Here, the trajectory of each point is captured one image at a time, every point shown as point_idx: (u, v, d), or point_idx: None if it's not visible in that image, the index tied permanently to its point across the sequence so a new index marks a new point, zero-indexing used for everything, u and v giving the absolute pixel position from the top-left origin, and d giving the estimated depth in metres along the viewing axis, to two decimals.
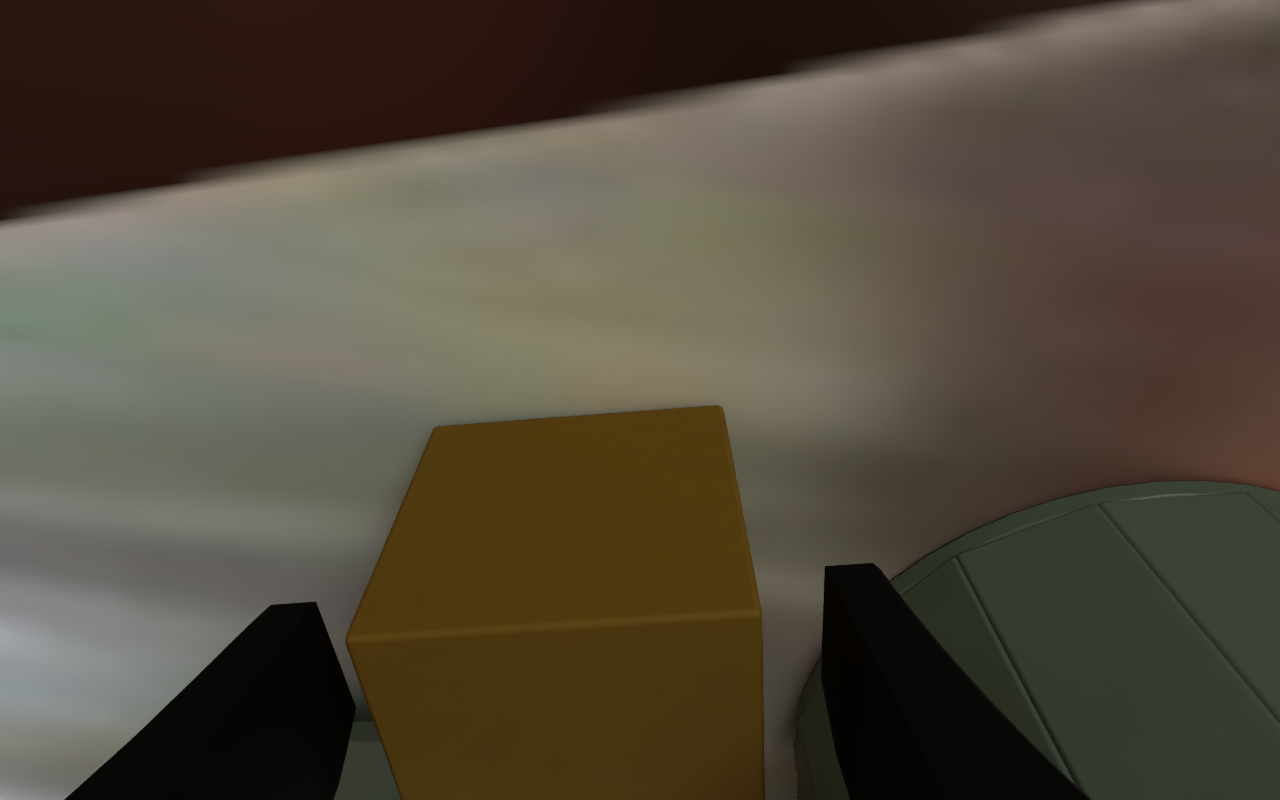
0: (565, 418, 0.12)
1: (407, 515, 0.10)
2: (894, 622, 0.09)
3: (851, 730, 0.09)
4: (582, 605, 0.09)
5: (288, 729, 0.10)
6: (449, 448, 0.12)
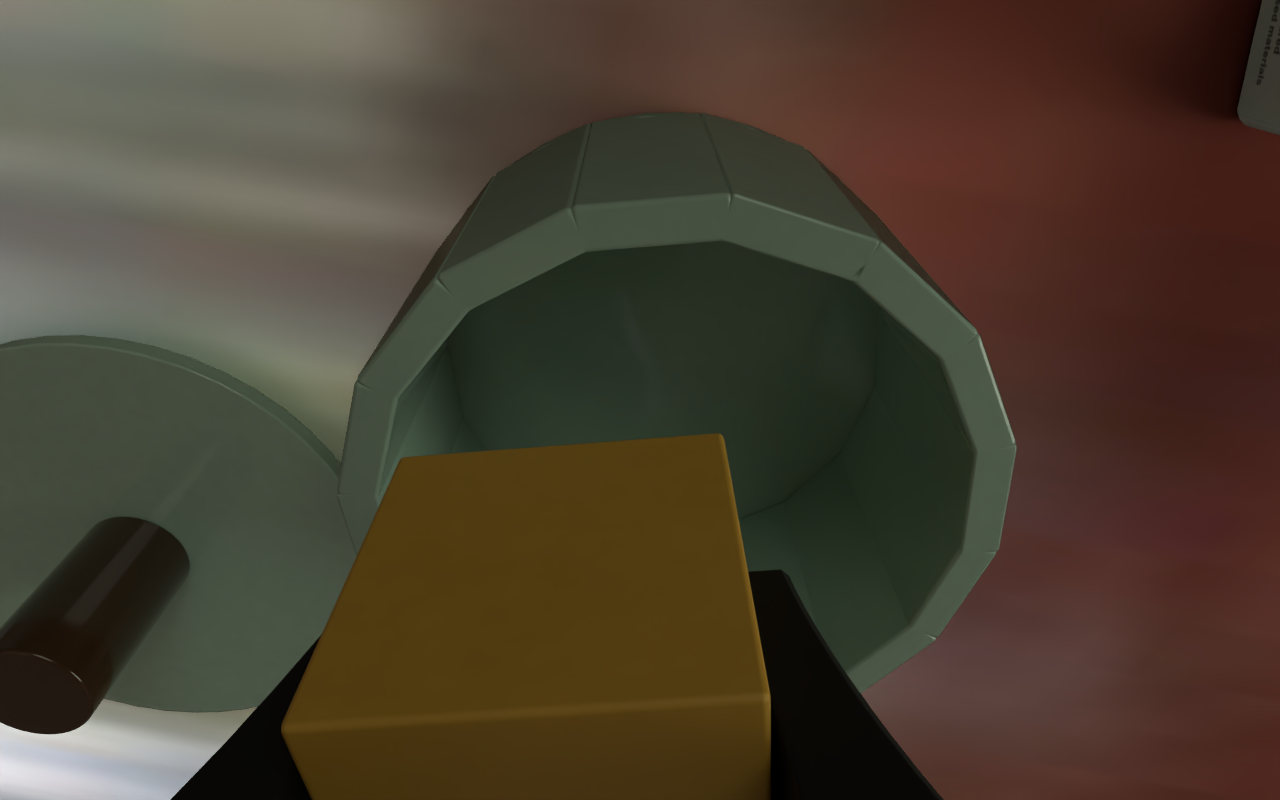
0: (547, 447, 0.11)
1: (363, 567, 0.09)
2: (789, 629, 0.09)
3: None
4: (560, 685, 0.07)
5: None
6: (415, 484, 0.10)
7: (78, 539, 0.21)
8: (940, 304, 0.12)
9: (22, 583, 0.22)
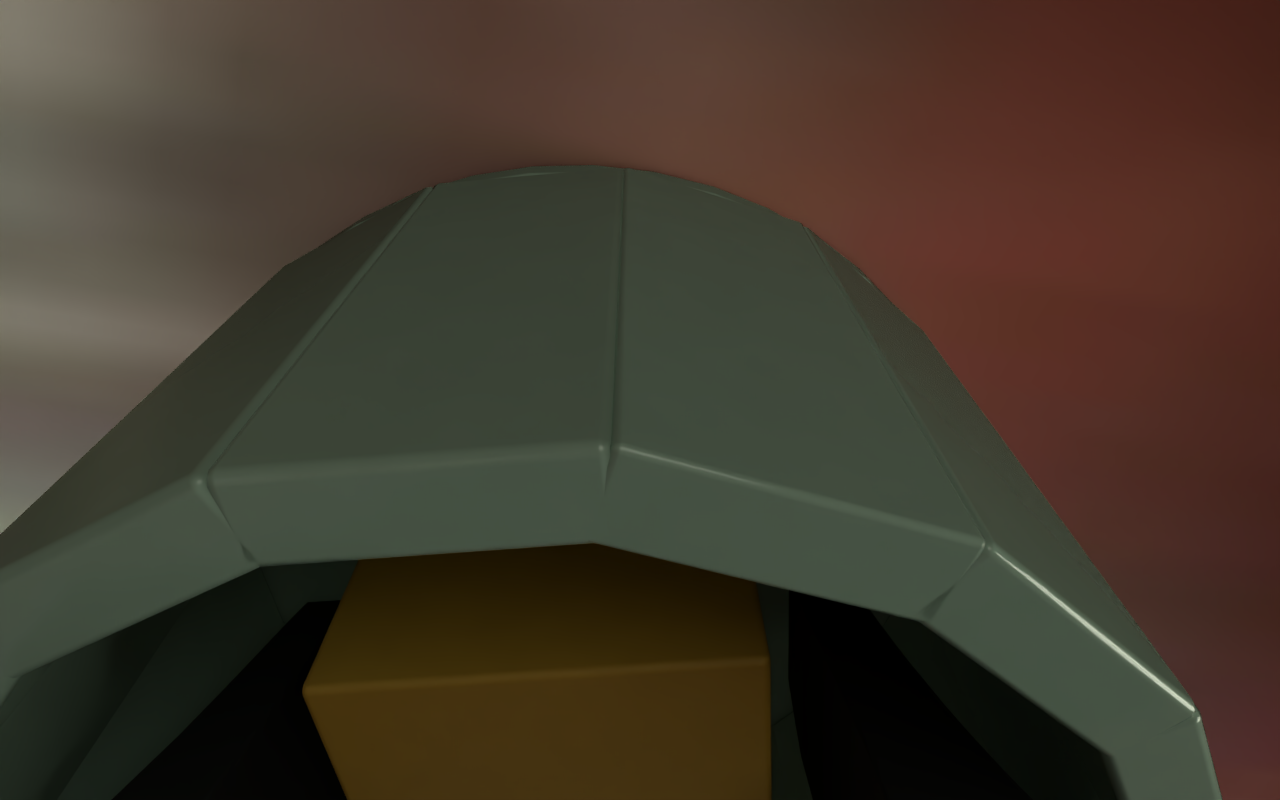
0: None
1: None
2: (853, 625, 0.09)
3: (813, 733, 0.10)
4: (569, 650, 0.08)
5: None
6: None
7: None
8: (1119, 661, 0.05)
9: None
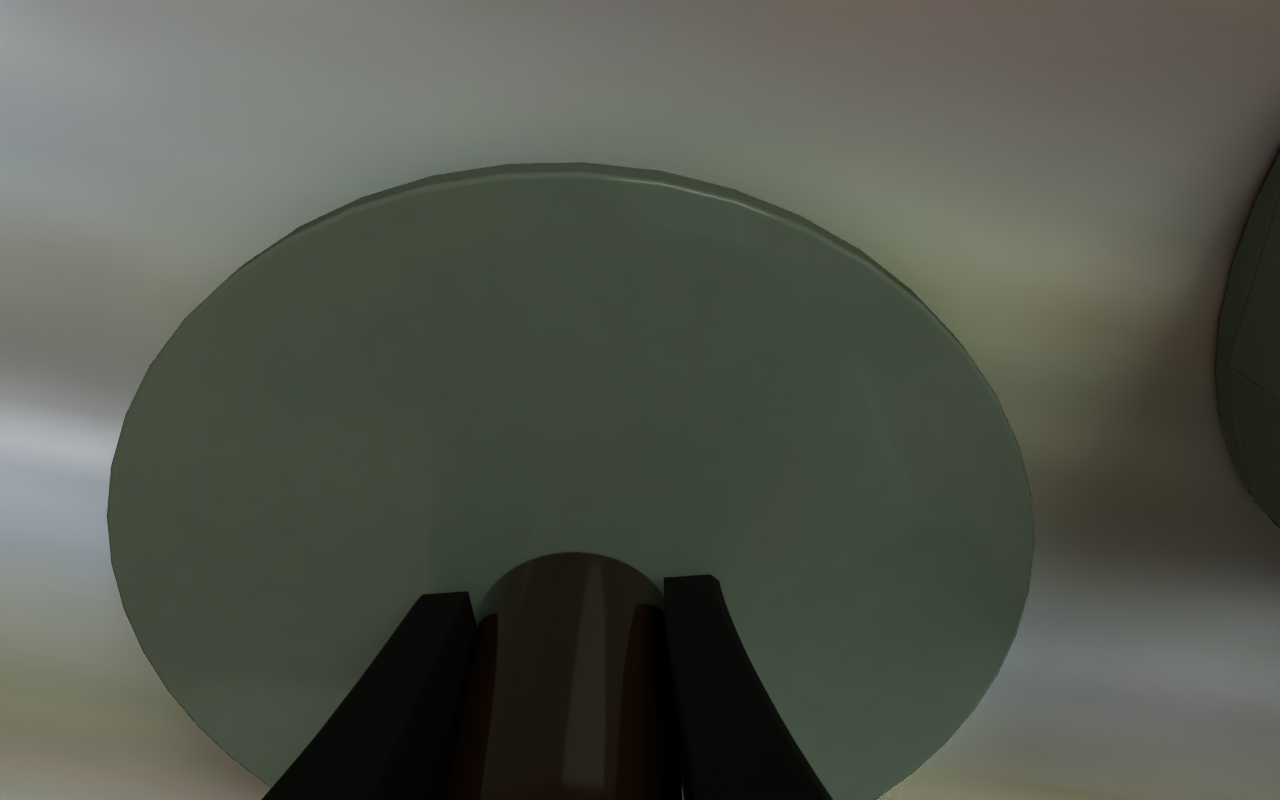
0: None
1: None
2: (708, 635, 0.09)
3: None
4: None
5: (454, 718, 0.09)
6: None
7: (469, 595, 0.11)
8: None
9: (341, 674, 0.12)
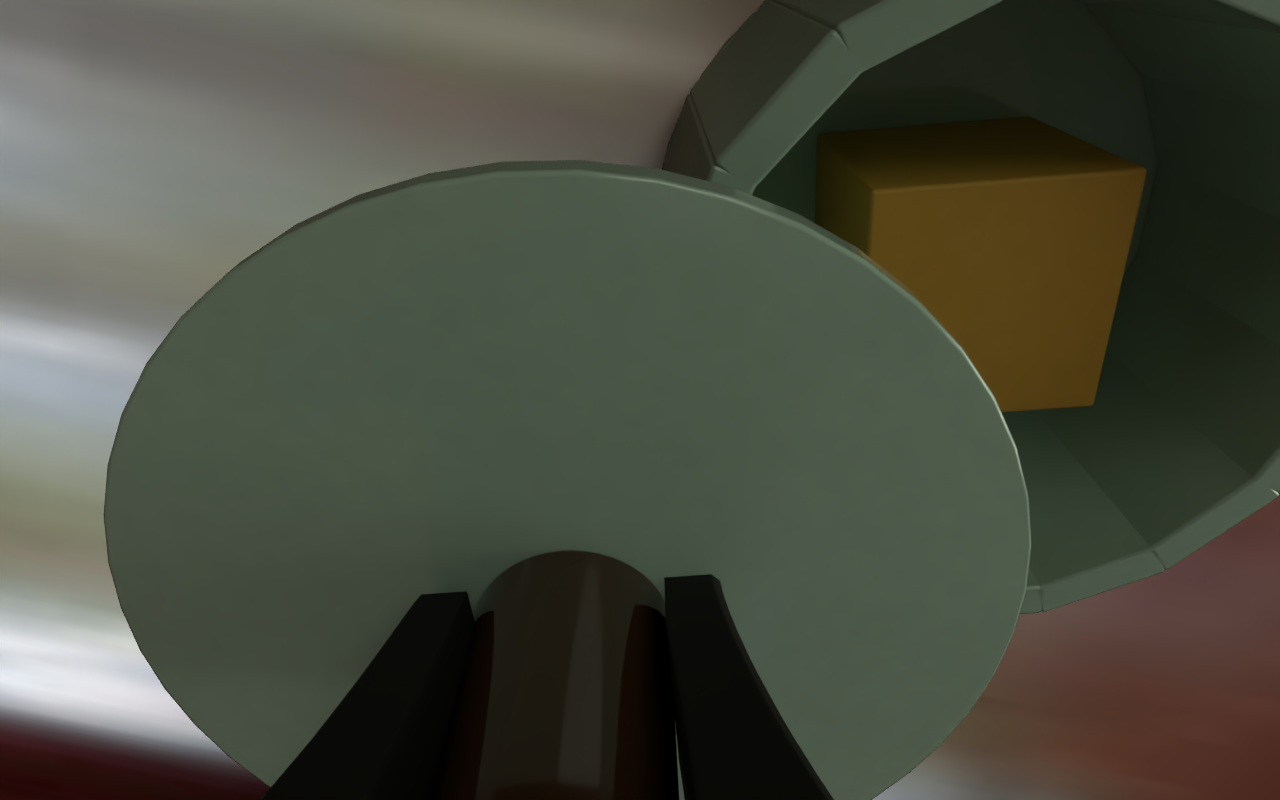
0: (916, 125, 0.17)
1: (851, 157, 0.15)
2: (709, 634, 0.09)
3: (679, 741, 0.10)
4: (1022, 173, 0.13)
5: None
6: (844, 139, 0.16)
7: None
8: None
9: (338, 673, 0.12)
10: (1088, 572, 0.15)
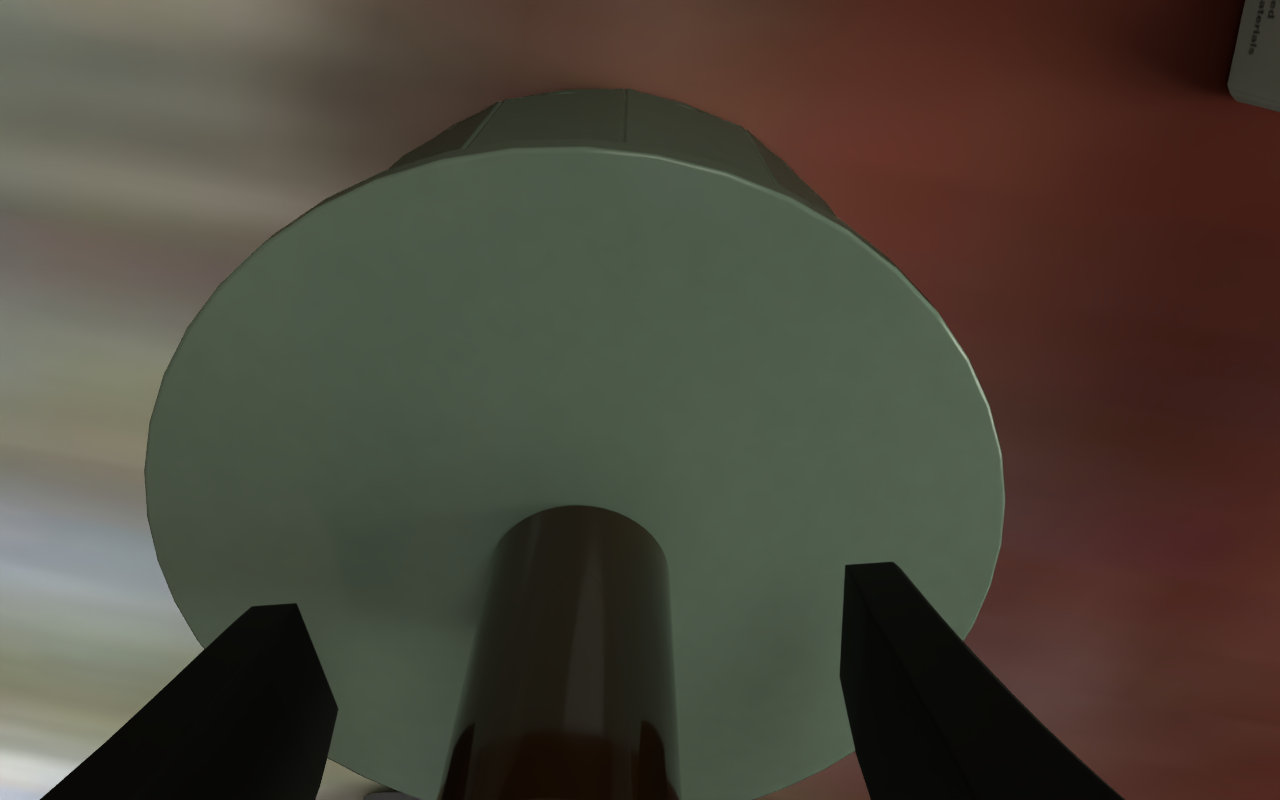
0: None
1: None
2: (917, 621, 0.09)
3: (873, 729, 0.09)
4: None
5: (267, 731, 0.10)
6: None
7: (479, 546, 0.12)
8: None
9: (359, 623, 0.12)
10: None
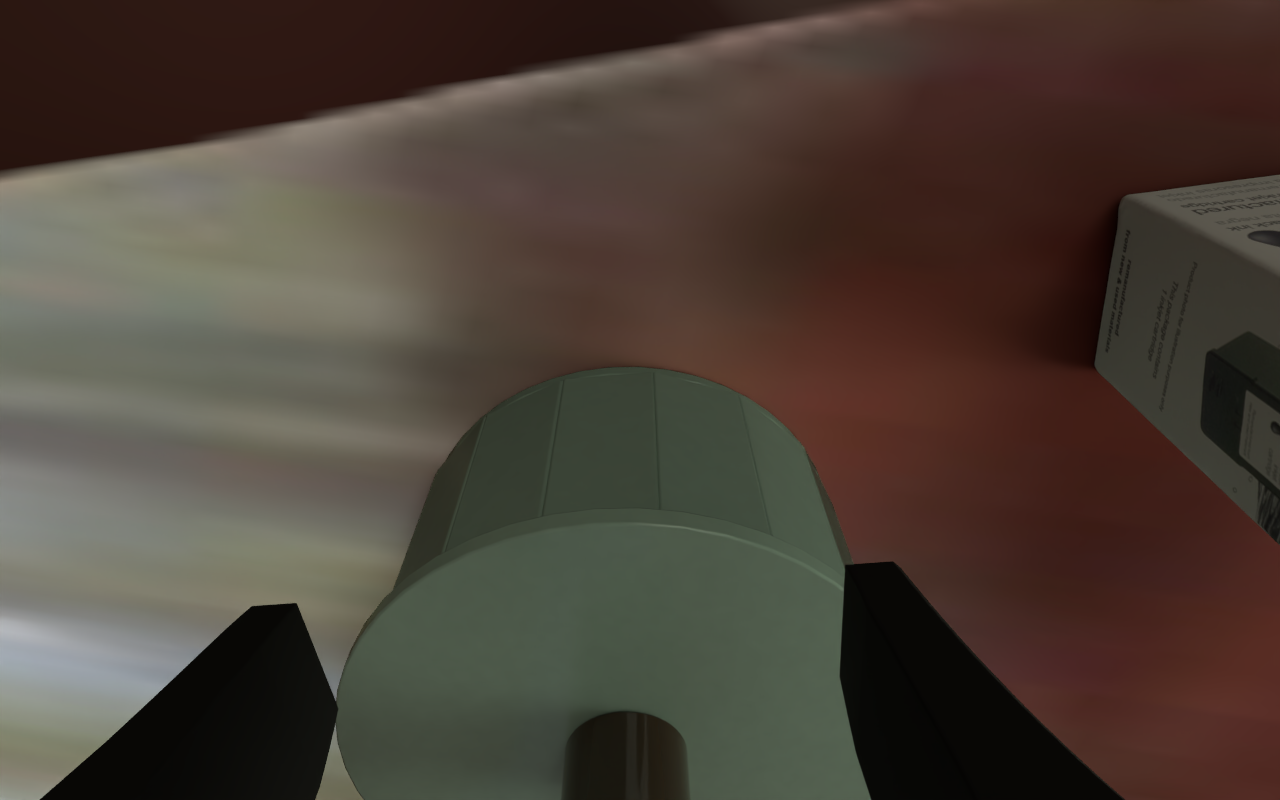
0: None
1: None
2: (918, 621, 0.09)
3: (873, 729, 0.09)
4: None
5: (268, 730, 0.10)
6: None
7: (558, 734, 0.17)
8: None
9: (471, 780, 0.18)
10: None
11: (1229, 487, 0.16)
